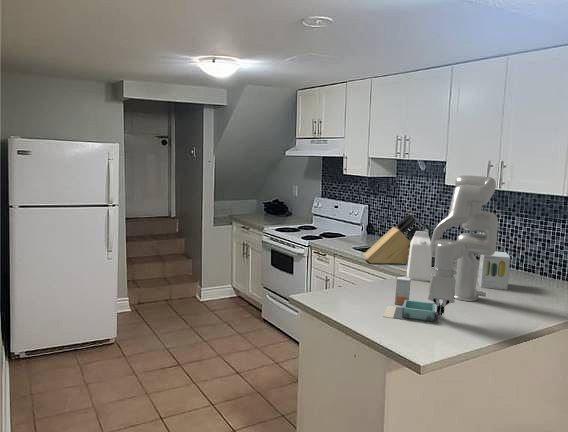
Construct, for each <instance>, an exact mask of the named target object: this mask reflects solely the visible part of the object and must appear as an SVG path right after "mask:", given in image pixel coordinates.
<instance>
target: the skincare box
mask: <svg viewBox="0 0 568 432" xmlns="http://www.w3.org/2000/svg"><path fill="white" fill-rule="evenodd" d="M411 281H412V280H411V278H408V277H404V276H403V277H402V276H398V277H397V278H396V286H395V297H394V305H396V304H397V305H401V306H403V304H404V300H410V291H411Z"/></svg>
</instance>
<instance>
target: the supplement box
mask: <svg viewBox="0 0 568 432" xmlns="http://www.w3.org/2000/svg"><path fill="white" fill-rule="evenodd" d="M510 264H511V256H510V255H509V254H508V253H507V252H505V251H496V250H495V253H494V254H493V255H492V256H485V255H479V262H478V272H477V282H478V284H479V287H480V288H483V289H484V288H486V289H494V290H495V289H496V290H505V291H507V290H508V284H509V278H510V277H509V275H510V266H511V265H510Z"/></svg>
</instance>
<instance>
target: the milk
mask: <svg viewBox="0 0 568 432" xmlns="http://www.w3.org/2000/svg"><path fill="white" fill-rule="evenodd" d="M430 243H431V238H430V235H429V233H428V231H416V232H415V235H414V237H413V239H412V240H411V243H410V248H409V251H408V261H407V268H406V269H407V270H406V276H407V277H406V278H411V281H422V282H423V281H425V282H430V281H431V276H432V262H433V260H432V257H433V256H432V255H433V254H432V253H431V251H430Z"/></svg>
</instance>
